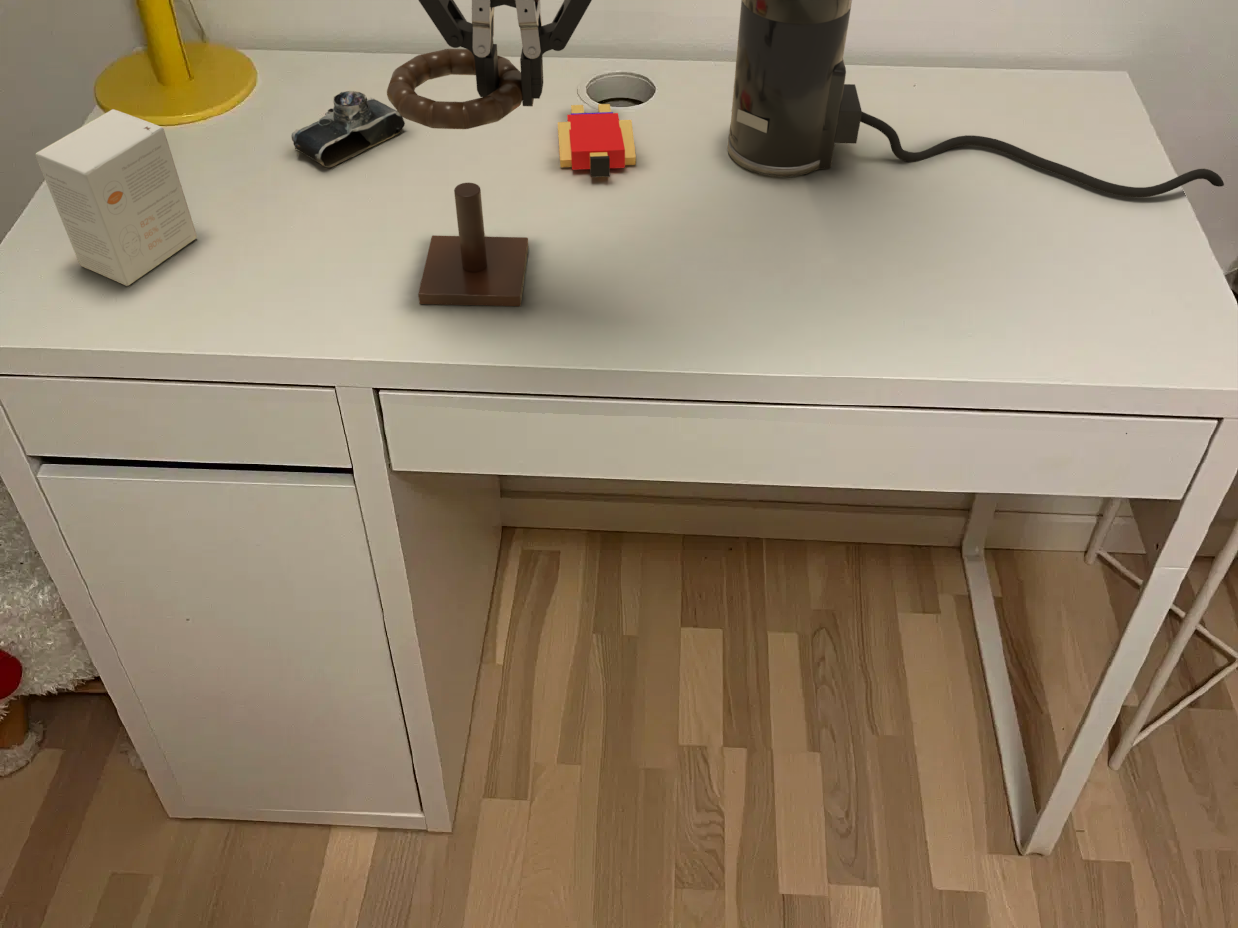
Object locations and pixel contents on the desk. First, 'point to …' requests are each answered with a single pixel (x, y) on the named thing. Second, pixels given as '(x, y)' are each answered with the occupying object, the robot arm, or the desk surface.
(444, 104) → the ring
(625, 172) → the desk surface
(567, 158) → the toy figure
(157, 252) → the small box
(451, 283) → the post
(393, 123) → the camera
